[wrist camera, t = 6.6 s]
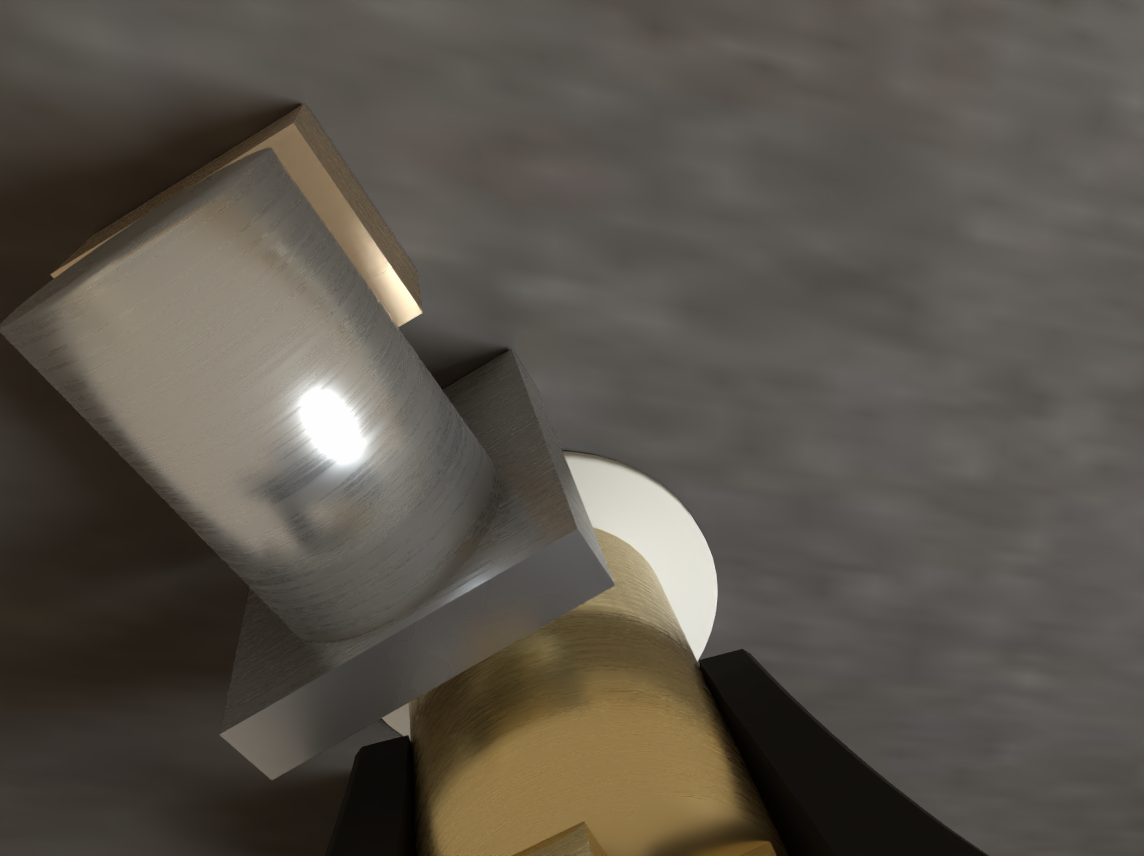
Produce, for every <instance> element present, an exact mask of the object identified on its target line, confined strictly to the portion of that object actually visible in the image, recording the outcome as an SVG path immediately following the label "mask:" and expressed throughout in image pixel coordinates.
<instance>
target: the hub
mask: <svg viewBox="0 0 1144 856" xmlns="http://www.w3.org/2000/svg"><path fill="white" fill-rule="evenodd" d="M593 529H594V532H595V535H596V537H597V540H598V542H599V545H600V547H601V550H602V552H603V555H604V557H605V560H606V562H607V565H608V567H609V570H610V572H611V575H612V577H613V580H614V583H615V586H613V587H611V588H610V589H608V590H606V591H604V592H603V593H601V594H599V595H597V596H596V597H594V598H592V599H590V600H589V601H587V602H585V603H583V604H582V605H580V606H578V607H576V608H574V609H573V610H571V611H569V612H567V613H566V614H564V615H562V616H560V617H559V618H557V619H555V620H553V621H552V622H550V623H548V624H546V625H545V626H543V627H541V628H539V629H538V630H536V631H534V632H532V633H530V634H529V635H527V636H525V637H523V638H522V639H520V640H518V641H516V642H515V643H513V644H511V645H509V646H508V647H506V648H504V649H502V650H501V651H499V652H497V653H495V654H493V655H492V656H490V657H488V658H486V659H485V660H483V661H481V662H479V663H478V664H476V665H474V666H472V667H471V668H469V669H467V670H465V671H464V672H462V673H460V674H458V675H457V676H455V677H453V678H451V679H449V680H448V681H446V682H444V683H442V684H441V685H439V686H437V687H435V688H434V689H432V690H430V691H428V692H427V693H425V694H423V695H421V696H420V697H418V698H416V699H414V700H413V701H411V702H409V717H410V739H411V756H412V778H413V801H414V830H415V852H416V856H789V855H788V853H787V851H786V849H785V847H784V845H783V842H782V840H781V838H780V836H779V834H778V832H777V830H776V828H775V825H774V823H773V821H772V819H771V817H770V815H769V813H768V811H767V808H766V806H765V804H764V802H763V800H762V798H761V796H760V794H759V791H758V789H757V787H756V785H755V783H754V781H753V779H752V777H751V775H750V772H749V770H748V768H747V766H746V764H745V762H744V760H743V758H742V755H741V753H740V751H739V749H738V747H737V745H736V743H735V741H734V738H733V736H732V734H731V732H730V730H729V728H728V726H727V724H726V721H725V719H724V717H723V715H722V713H721V711H720V709H719V707H718V704H717V702H716V700H715V698H714V696H713V694H712V692H711V690H710V688H709V685H708V683H707V681H706V679H705V677H704V675H703V673H702V671H701V668H700V666H699V664H698V662H697V660H696V658H695V656H694V653H693V651H692V649H691V647H690V645H689V643H688V641H687V639H686V636H685V634H684V632H683V630H682V628H681V626H680V624H679V622H678V619H677V617H676V615H675V613H674V611H673V609H672V607H671V605H670V602H669V600H668V598H667V596H666V594H665V592H664V590H663V588H662V586H661V583H660V581H659V579H658V577H657V575H656V574H655V572H654V570H653V569H652V567H651V565H650V564H649V563H648V562H647V561H646V559H645V558H644V557H643V556H642V555H641V554H640V553H639V552H638V551H637V550H636V549H634V548H633V547H632V546H631V545H630V544H628V543H626V542H625V541H623V540H622V539H620V538H618V537H617V536H614V535H612V534H610V533H608V532H605V531H603V530H600V529H597V528H593Z"/></svg>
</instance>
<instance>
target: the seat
mask: <svg viewBox="0 0 1144 856" xmlns="http://www.w3.org/2000/svg"><path fill="white" fill-rule="evenodd" d="M563 454H564V456H565V459H566V461H567V464H568V466H569V469H570V471H571V474H572V476H573V479H574V481H575V484H576V487H577V489H578V492H579V494H580V497H581V499H582V502H583V504H584V507H585V509H586V512H587V514H588V517H589V519H590V522H591V524H592V527H593V528H597V529H600V530H603V531H605V532H608V533H610V534H612V535H614V536H617V537H618V538H620V539H622V540H623V541H625V542H626V543H628V544H630V545H631V546H632V547H633V548H634V549H636V550H637V551H638V552H639V553H640V554H641V555H642V556H643V557H644V558H645V559H646V561H647V562H648V563H649V564H650V565H651V567H652V569H653V570H654V572H655V574H656V575H657V577H658V579H659V581H660V583H661V586H662V588H663V590H664V592H665V594H666V596H667V598H668V600H669V602H670V605H671V607H672V609H673V611H674V613H675V615H676V617H677V619H678V622H679V624H680V626H681V628H682V630H683V632H684V634H685V636H686V639H687V641H688V643H689V645H690V647H691V649H692V651H693V653H694V656H695V658H696V660H697V661H698V659H699V657H700V656H701V654H702V652H703V650H704V648H705V645H706V643H707V640H708V638H709V635H710V633H711V630H712V626H713V622H714V618H715V614H716V605H717V594H718V593H717V576H716V571H715V566H714V562H713V557H712V554H711V552H710V550H709V547H708V545H707V542H706V540H705V538H704V536H703V534H702V533H701V531H700V529H699V527H698V526H697V524H696V523H695V521H694V519H693V518H692V516H691V515H690V513H689V511H688V510H687V509H686V508H685V507H684V506H683V504H682V503H681V502H680V501H679V500H678V499H677V498H676V496H675V495H673V494H672V493H671V492H670V491H669V490H667V489H666V488H665V487H664V486H663V485H661V484H660V483H659V482H657V481H656V480H654V479H653V478H651V477H649V476H648V475H646V474H644V473H643V472H641V471H639V470H637V469H635V468H632V467H630V466H628V465H625V464H623V463H621V462H618V461H615V460H611V459H608V458H604V457H601V456H597V455H591V454H585V453H578V452H571V451H563ZM382 719H383V720H384V721H385V722H386V723H387V724H388V725H389V726H391V727H392V728H393V729H395V730H396V731H397V732H399V733H400V734H402V735H403V736H406V735H409V738H410V717H409V703H407V704H405V705H404V706H402V707H400V708H398V709H397V710H395V711H393V712H391V713H390V714H388V715H386V716H384V717H383V718H382ZM410 740H411V739H410Z"/></svg>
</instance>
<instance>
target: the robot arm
mask: <svg viewBox="0 0 1144 856" xmlns="http://www.w3.org/2000/svg"><path fill="white" fill-rule="evenodd" d="M699 662H700V668H701V671H702V673H703V675H704V677H705V679H706V681H707V683H708V685H709V688H710V690H711V692H712V694H713V696H714V698H715V700H716V702H717V704H718V707H719V709H720V711H721V713H722V715H723V717H724V719H725V721H726V724H727V726H728V728H729V730H730V732H731V734H732V736H733V738H734V741H735V743H736V745H737V747H738V749H739V751H740V753H741V755H742V758H743V760H744V762H745V764H746V766H747V768H748V770H749V772H750V775H751V777H752V779H753V781H754V783H755V785H756V787H757V789H758V791H759V794H760V796H761V798H762V800H763V802H764V804H765V806H766V808H767V811H768V813H769V815H770V817H771V819H772V821H773V823H774V825H775V828H776V830H777V832H778V834H779V836H780V838H781V840H782V842H783V845H784V847H785V849H786V851H787V853H788V855H789V856H988V855H987V854H986V853H984V852H983V851H981V850H980V849H978V848H977V847H975V846H974V845H972V844H971V843H969V842H968V841H967V840H965V839H964V838H962V837H961V836H959V835H958V834H957V833H955V832H954V831H952V830H951V829H950V828H948V827H947V826H945V825H944V824H943V823H941V822H940V821H939V820H937V819H936V818H935V817H933V816H932V815H931V814H929V813H928V812H927V811H925V810H924V809H923V808H921V807H920V806H919V805H918V804H916V803H915V802H914V801H912V800H911V799H910V798H909V797H907V796H906V795H905V794H903V793H902V792H901V791H900V790H898V789H897V788H896V787H894V786H893V785H892V784H891V783H889V782H888V781H887V780H886V779H885V778H883V777H882V776H881V775H880V774H879V773H877V772H876V771H875V770H874V769H872V768H871V767H870V766H869V765H868V764H866V763H865V762H864V761H863V760H862V759H861V758H860V757H858V756H857V755H856V754H855V753H854V752H853V751H851V750H850V749H849V748H848V747H847V746H846V745H845V744H843V743H842V742H841V741H840V740H839V739H838V738H836V737H835V736H834V735H833V734H832V733H831V732H830V731H829V730H827V729H826V728H825V727H824V726H823V725H822V724H821V723H820V722H819V721H818V720H816V719H815V718H814V717H813V716H812V715H811V714H810V713H809V712H808V711H807V710H806V709H805V708H804V707H803V706H802V705H801V704H800V703H798V702H797V701H796V700H795V699H794V698H793V697H792V696H791V695H790V694H789V693H788V692H787V691H786V690H785V689H784V688H783V687H782V686H781V685H780V684H779V683H778V682H777V681H776V680H775V679H774V678H773V677H772V676H771V675H770V674H769V673H768V672H767V671H766V670H765V669H764V668H763V667H762V666H761V665H760V663H759V662H758V661H757V660H756V659H755V658H754V657H753V656H752V655H751V654H750V653H748V652H747V651H745V650H743V649H741V650H737V651H733V652H729V653H725V654H721V655H717V656H713V657H710V658H706V659H702V660H699ZM325 856H416V852H415V830H414V801H413V778H412V756H411V742H410V738H409V735H406V736H402V737H399V738H395V739H391V740H387V741H383V742H379V743H375V744H371V745H367V746H364V747H362V748H361V749H360V750H359V752H358V753H357V754H356V756H355V760H354V764H353V768H352V772H351V775H350V779H349V782H348V786H347V789H346V793H345V796H344V799H343V803H342V806H341V809H340V812H339V815H338V819H337V822H336V824H335V827H334V830H333V833H332V836H331V839H330V842H329V845H328V848H327V851H326V854H325Z"/></svg>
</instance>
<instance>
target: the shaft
mask: <svg viewBox="0 0 1144 856" xmlns="http://www.w3.org/2000/svg"><path fill="white" fill-rule="evenodd" d="M50 275H51V276H52V277H53V278H54V279H53V280H51V281H50V282H49V283H48V284H46V285H45V286H44V287H42V288H41V289H40V290H38V291H37V292H36V293H35V294H33V295H32V296H31V297H30V298H28V299H27V300H26V301H25V302H23V303H22V304H21V305H20V306H19V307H17V308H16V309H15V310H14V311H13V312H12V313H11V314H10V315H9V316H8V317H7V318H6V319H5V320H4V321H3V322H2V323H1V324H0V333H1V334H2V335H3V336H4V337H5V338H6V339H7V340H8V341H9V342H10V343H11V344H12V345H13V346H14V347H15V348H16V349H17V350H18V351H19V352H20V353H21V354H22V355H23V356H24V357H25V358H26V359H27V361H28V362H29V363H30V364H31V365H32V366H33V367H34V368H35V369H36V370H37V371H38V372H39V373H40V374H41V375H42V376H43V377H44V378H45V379H46V380H47V381H48V382H49V383H50V384H51V385H52V386H53V387H54V388H55V389H56V390H57V391H58V392H59V393H60V394H61V395H62V396H63V397H64V398H65V399H66V400H67V401H68V402H69V403H70V404H71V405H72V406H73V408H74V409H75V410H76V411H77V412H78V413H79V414H80V415H81V416H82V417H83V418H84V419H85V420H86V421H87V422H88V423H89V424H90V425H91V426H92V427H93V428H94V429H95V430H96V431H97V432H98V433H99V434H100V435H101V436H102V437H103V438H104V439H105V440H106V441H107V442H108V443H109V444H110V445H111V446H112V447H113V448H114V449H115V450H116V451H117V452H118V453H119V455H120V456H121V457H122V458H123V459H124V460H125V461H126V462H127V463H128V464H129V465H130V466H131V467H132V468H133V469H134V470H135V471H136V472H137V473H138V474H139V475H140V476H141V477H142V478H143V479H144V480H145V481H146V482H147V483H148V484H149V485H150V486H151V487H152V488H153V489H154V490H155V491H156V492H157V493H158V494H159V495H160V496H161V497H162V498H163V499H164V501H165V502H166V503H167V504H168V505H169V506H170V507H171V508H172V509H173V510H174V511H175V512H176V513H177V514H178V515H179V516H180V517H181V518H182V519H183V520H184V521H185V522H186V523H187V524H188V525H189V526H190V527H191V528H192V529H193V530H194V531H195V532H196V533H197V534H198V535H199V536H200V537H201V538H202V539H203V540H204V541H205V542H206V543H207V544H208V545H209V546H210V548H211V549H212V550H213V551H214V552H215V553H216V554H217V555H218V556H219V557H220V558H221V559H222V560H223V561H224V562H225V563H226V564H227V565H228V566H229V567H230V568H231V569H232V570H233V571H234V572H235V573H236V574H237V575H238V576H239V577H240V578H241V579H242V580H243V581H244V582H245V583H246V584H247V585H248V586H249V587H250V588H249V592H248V597H247V602H246V607H245V612H244V617H243V622H242V627H241V632H240V636H239V641H238V646H237V651H236V656H235V661H234V666H233V671H232V675H231V680H230V685H229V690H228V695H227V700H226V705H225V710H224V715H223V719H222V724H221V729H220V734H219V735H220V736H222V737H223V738H224V739H225V740H226V741H227V742H228V743H229V744H231V745H232V746H233V747H234V748H235V749H236V750H237V751H239V752H240V753H241V754H242V755H243V756H244V757H245V758H247V759H248V760H249V761H250V762H251V763H252V764H253V765H255V766H256V767H257V768H258V769H259V770H260V771H261V772H263V773H264V774H265V775H266V776H267V777H268V778H269V779H271V780H273V779H275V778H277V777H279V776H280V775H282V774H284V773H286V772H288V771H289V770H291V769H293V768H295V767H296V766H298V765H300V764H302V763H303V762H305V761H307V760H309V759H310V758H312V757H314V756H316V755H317V754H319V753H321V752H323V751H324V750H326V749H328V748H330V747H332V746H333V745H335V744H337V743H339V742H340V741H342V740H344V739H346V738H347V737H349V736H351V735H353V734H354V733H356V732H358V731H360V730H361V729H363V728H365V727H367V726H368V725H370V724H372V723H374V722H376V721H377V720H379V719H381V718H383V717H384V716H386V715H388V714H390V713H391V712H393V711H395V710H397V709H398V708H400V707H402V706H404V705H405V704H407V703H409V702H411V701H413V700H414V699H416V698H418V697H420V696H421V695H423V694H425V693H427V692H428V691H430V690H432V689H434V688H435V687H437V686H439V685H441V684H442V683H444V682H446V681H448V680H449V679H451V678H453V677H455V676H457V675H458V674H460V673H462V672H464V671H465V670H467V669H469V668H471V667H472V666H474V665H476V664H478V663H479V662H481V661H483V660H485V659H486V658H488V657H490V656H492V655H493V654H495V653H497V652H499V651H501V650H502V649H504V648H506V647H508V646H509V645H511V644H513V643H515V642H516V641H518V640H520V639H522V638H523V637H525V636H527V635H529V634H530V633H532V632H534V631H536V630H538V629H539V628H541V627H543V626H545V625H546V624H548V623H550V622H552V621H553V620H555V619H557V618H559V617H560V616H562V615H564V614H566V613H567V612H569V611H571V610H573V609H574V608H576V607H578V606H580V605H582V604H583V603H585V602H587V601H589V600H590V599H592V598H594V597H596V596H597V595H599V594H601V593H603V592H604V591H606V590H608V589H610V588H611V587H613V586H615V583H614V580H613V577H612V575H611V572H610V570H609V567H608V565H607V562H606V560H605V557H604V555H603V552H602V550H601V547H600V545H599V542H598V540H597V537H596V535H595V532H594V529H593V527H592V524H591V522H590V519H589V517H588V514H587V512H586V509H585V507H584V504H583V502H582V499H581V497H580V494H579V492H578V489H577V487H576V484H575V481H574V479H573V476H572V474H571V471H570V469H569V466H568V464H567V461H566V459H565V456H564V454H563V451H562V449H561V446H560V444H559V441H558V439H557V436H556V433H555V431H554V428H553V426H552V423H551V421H550V418H549V416H548V413H547V411H546V408H545V406H544V403H543V401H542V398H541V396H540V393H539V391H538V390H537V388H536V387H535V385H534V384H533V382H532V380H531V379H530V377H529V376H528V374H527V373H526V371H525V369H524V368H523V366H522V365H521V363H520V362H519V360H518V358H517V357H516V355H515V354H514V352H513V351H512V349H510V350H509V351H507V352H505V353H504V354H502V355H500V356H498V357H497V358H495V359H493V360H492V361H490V362H488V363H487V364H485V365H483V366H482V367H480V368H478V369H477V370H475V371H473V372H471V373H470V374H468V375H466V376H465V377H463V378H461V379H460V380H458V381H456V382H455V383H453V384H451V385H450V386H448V387H446V388H444V389H443V390H442V389H441V387H440V386H439V385H438V383H437V382H436V380H435V379H434V378H433V376H432V375H431V373H430V372H429V370H428V369H427V368H426V366H425V365H424V363H423V362H422V361H421V359H420V358H419V356H418V355H417V353H416V352H415V351H414V349H413V348H412V346H411V345H410V344H409V342H408V341H407V339H406V338H405V336H404V335H403V334H402V332H401V331H400V329H399V328H398V327H400V326H401V325H403V324H405V323H406V322H408V321H410V320H411V319H413V318H415V317H416V316H418V315H420V314H421V313H423V310H422V303H421V296H420V289H419V282H418V275H417V271H416V270H415V268H414V267H413V265H412V264H411V262H410V261H409V259H408V258H407V256H406V255H405V253H404V252H403V250H402V249H401V247H400V246H399V244H398V243H397V241H396V240H395V238H394V237H393V235H392V234H391V232H390V231H389V229H388V228H387V226H386V225H385V223H384V222H383V220H382V219H381V217H380V216H379V214H378V213H377V211H376V210H375V208H374V207H373V205H372V204H371V202H370V201H369V199H368V198H367V196H366V195H365V193H364V192H363V190H362V189H361V187H360V186H359V184H358V183H357V181H356V180H355V178H354V177H353V175H352V174H351V172H350V171H349V169H348V168H347V166H346V165H345V163H344V162H343V161H342V159H341V158H340V156H339V155H338V153H337V152H336V150H335V149H334V147H333V146H332V144H331V143H330V141H329V140H328V138H327V137H326V135H325V134H324V132H323V131H322V129H321V128H320V126H319V125H318V123H317V122H316V120H315V119H314V117H313V116H312V114H311V113H310V111H309V110H308V108H307V107H306V105H305V104H302V105H301V106H299V107H298V108H296V109H294V110H293V111H291V112H290V113H288V114H286V115H285V116H283V117H282V118H280V119H278V120H277V121H275V122H274V123H272V124H270V125H269V126H267V127H266V128H264V129H262V130H261V131H259V132H258V133H256V134H254V135H253V136H251V137H250V138H248V139H246V140H245V141H243V142H242V143H240V144H238V145H237V146H235V147H234V148H232V149H230V150H229V151H227V152H226V153H224V154H222V155H221V156H219V157H218V158H216V159H214V160H213V161H211V162H209V163H208V164H206V165H205V166H203V167H201V168H200V169H198V170H197V171H195V172H193V173H192V174H190V175H189V176H187V177H185V178H184V179H182V180H181V181H179V182H177V183H176V184H174V185H173V186H171V187H169V188H168V189H166V190H165V191H163V192H161V193H160V194H158V195H157V196H155V197H153V198H152V199H150V200H149V201H147V202H145V203H144V204H142V205H141V206H139V207H137V208H136V209H134V210H133V211H131V212H129V213H128V214H126V215H125V216H123V217H121V218H120V219H118V220H117V221H115V222H113V223H112V224H110V225H109V226H107V227H105V228H104V229H102V230H101V231H99V232H97V233H96V234H94V235H93V236H92V237H90V238H89V239H88V240H87V241H86V242H85V243H84V244H83V245H82V246H81V247H80V248H78V249H77V250H76V251H75V252H74V253H73V254H72V255H71V256H70V257H69V258H68V259H67V260H65V261H64V262H63V263H62V264H61V265H60V266H59V267H58V268H57V269H56V270H55V271H53V272H52V273H51V274H50Z"/></svg>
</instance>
